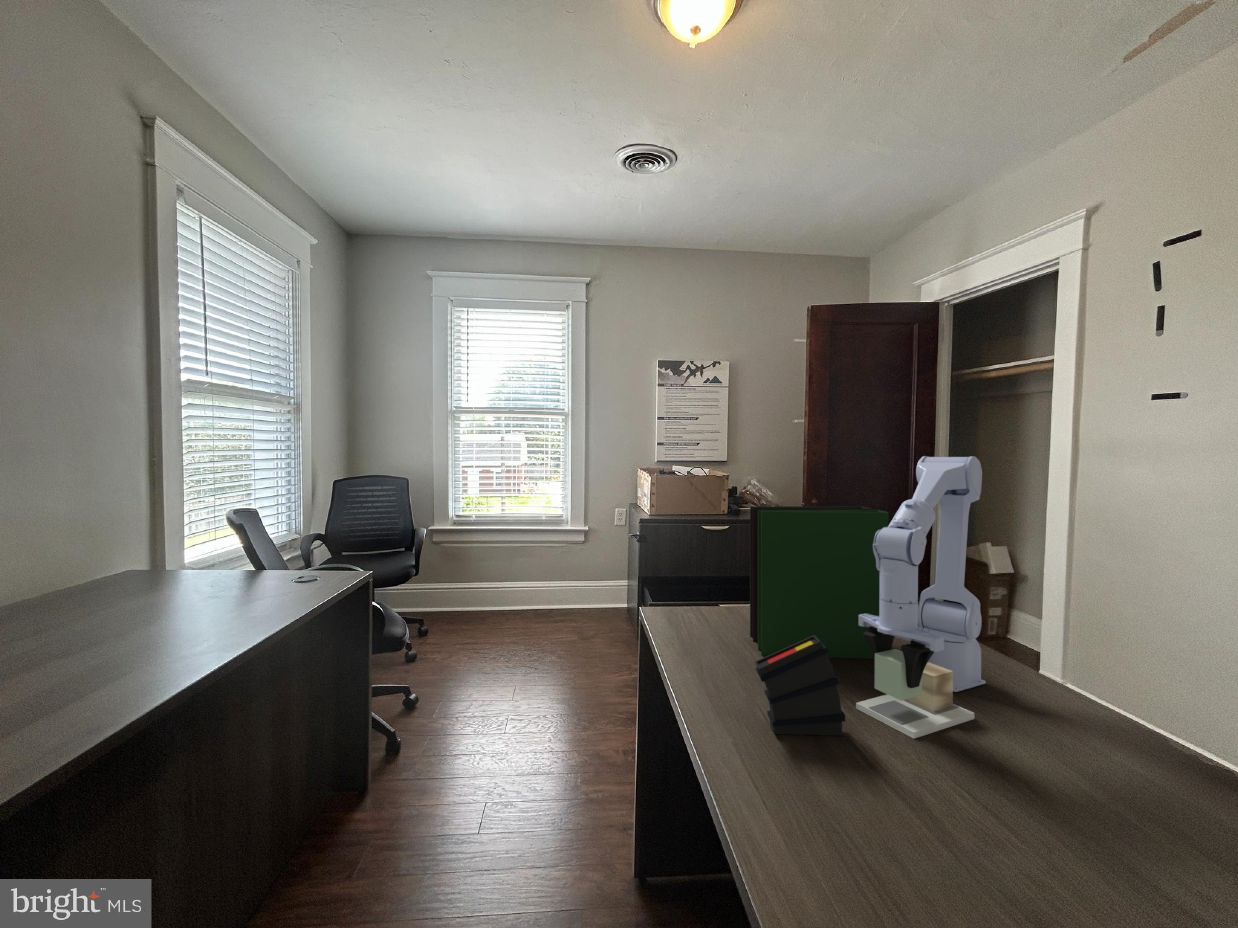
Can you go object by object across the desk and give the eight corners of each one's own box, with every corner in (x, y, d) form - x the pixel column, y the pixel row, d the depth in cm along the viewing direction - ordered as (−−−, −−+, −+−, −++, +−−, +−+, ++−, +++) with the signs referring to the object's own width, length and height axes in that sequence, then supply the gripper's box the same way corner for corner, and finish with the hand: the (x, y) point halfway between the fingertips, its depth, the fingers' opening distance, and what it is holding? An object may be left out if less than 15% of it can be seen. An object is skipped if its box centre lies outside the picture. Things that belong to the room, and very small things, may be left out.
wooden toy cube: (925, 694, 96) (925, 661, 96) (952, 705, 91) (952, 671, 91) (906, 699, 94) (906, 665, 94) (933, 711, 89) (933, 676, 89)
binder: (762, 656, 117) (762, 512, 117) (748, 634, 132) (749, 505, 132) (888, 658, 116) (888, 512, 115) (860, 635, 131) (860, 506, 130)
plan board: (914, 692, 99) (914, 686, 99) (974, 718, 89) (974, 712, 89) (856, 708, 93) (856, 702, 93) (913, 738, 83) (913, 731, 83)
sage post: (894, 683, 93) (895, 648, 93) (921, 694, 88) (921, 658, 88) (874, 688, 91) (874, 653, 90) (900, 700, 86) (901, 663, 86)
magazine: (865, 727, 83) (823, 641, 83) (787, 761, 84) (746, 675, 84) (855, 715, 87) (815, 633, 87) (781, 748, 88) (742, 666, 88)
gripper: (846, 592, 94) (845, 668, 94) (922, 613, 81) (922, 702, 81) (874, 587, 97) (874, 661, 97) (952, 608, 84) (952, 693, 84)
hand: (897, 679), depth 89 cm, fingers closed on sage post, 5 cm apart
